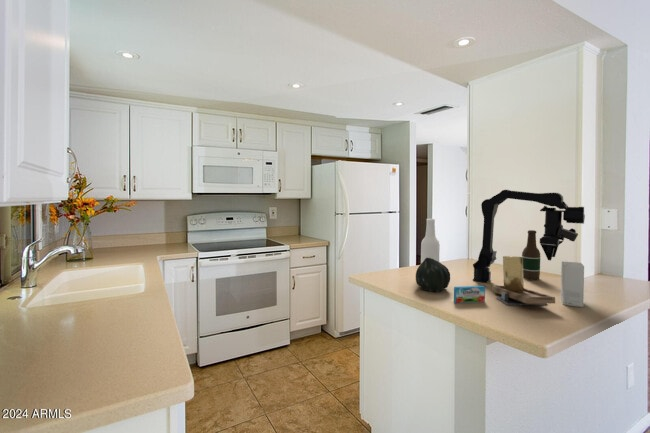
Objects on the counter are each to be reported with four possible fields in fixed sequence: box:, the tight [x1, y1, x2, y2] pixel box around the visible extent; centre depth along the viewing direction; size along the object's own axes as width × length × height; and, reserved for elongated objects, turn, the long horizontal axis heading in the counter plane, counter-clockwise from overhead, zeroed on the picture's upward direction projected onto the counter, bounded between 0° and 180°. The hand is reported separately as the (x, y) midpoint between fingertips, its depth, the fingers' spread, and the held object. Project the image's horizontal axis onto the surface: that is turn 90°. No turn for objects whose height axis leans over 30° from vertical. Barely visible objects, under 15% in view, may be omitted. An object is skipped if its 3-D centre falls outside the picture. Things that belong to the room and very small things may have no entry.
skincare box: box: [560, 261, 585, 308], centre depth 125 cm, size 8×7×16 cm
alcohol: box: [420, 218, 441, 265], centre depth 162 cm, size 9×9×30 cm
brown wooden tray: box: [491, 285, 556, 304], centre depth 127 cm, size 23×10×2 cm, turn 1°
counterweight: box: [502, 255, 525, 293], centre depth 132 cm, size 7×7×14 cm
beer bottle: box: [521, 229, 541, 281], centre depth 161 cm, size 8×8×24 cm
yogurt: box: [453, 285, 486, 304], centre depth 127 cm, size 12×2×6 cm, turn 95°
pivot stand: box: [495, 292, 548, 306], centre depth 127 cm, size 8×15×4 cm, turn 91°
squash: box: [415, 258, 451, 293], centre depth 144 cm, size 14×15×15 cm
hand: (551, 258), depth 138 cm, fingers open, 9 cm apart
